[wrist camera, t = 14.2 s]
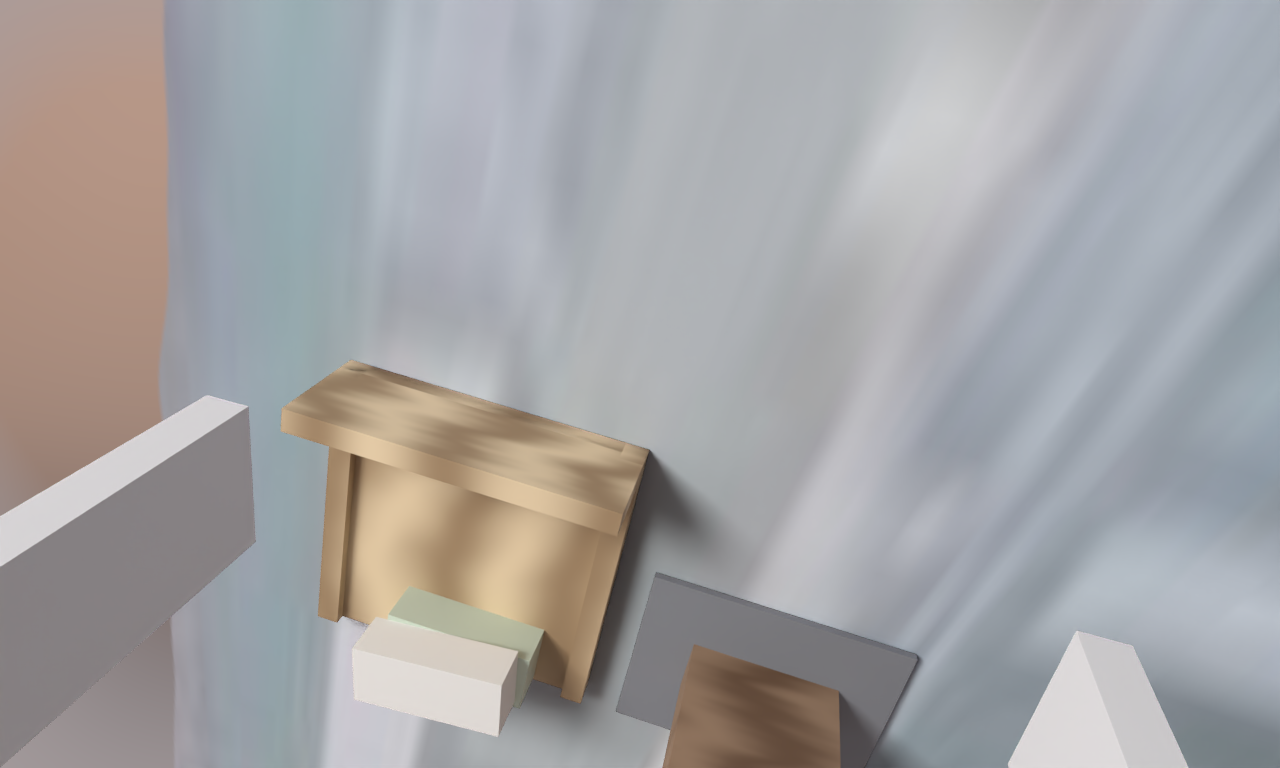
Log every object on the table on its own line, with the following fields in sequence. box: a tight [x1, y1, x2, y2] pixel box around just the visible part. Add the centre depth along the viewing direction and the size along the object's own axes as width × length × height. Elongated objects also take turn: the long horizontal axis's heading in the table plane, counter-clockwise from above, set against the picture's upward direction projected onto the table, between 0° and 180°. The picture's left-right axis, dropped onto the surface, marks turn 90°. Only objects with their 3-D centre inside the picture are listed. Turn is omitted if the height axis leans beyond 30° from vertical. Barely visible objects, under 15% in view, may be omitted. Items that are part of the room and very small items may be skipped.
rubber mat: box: [616, 572, 918, 768], centre depth 45 cm, size 14×10×1 cm
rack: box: [281, 360, 649, 703], centre depth 42 cm, size 16×16×6 cm
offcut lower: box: [388, 586, 544, 709], centre depth 45 cm, size 8×4×2 cm, turn 76°
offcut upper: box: [352, 617, 518, 737], centre depth 43 cm, size 8×4×2 cm, turn 82°
